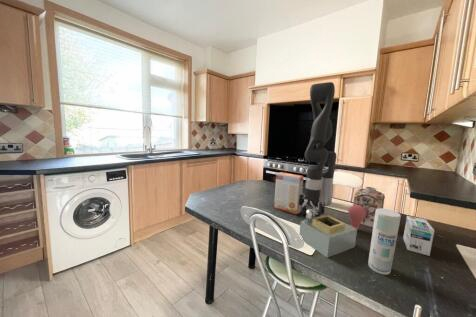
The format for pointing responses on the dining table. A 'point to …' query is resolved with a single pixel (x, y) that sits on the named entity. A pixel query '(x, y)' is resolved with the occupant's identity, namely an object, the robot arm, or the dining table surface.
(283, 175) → the cracker box
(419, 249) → the light bulb box
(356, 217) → the light bulb
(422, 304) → the dining table surface
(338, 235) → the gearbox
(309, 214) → the pellet
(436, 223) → the dining table surface
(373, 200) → the decorative jar
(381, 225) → the spray can
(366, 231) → the dining table surface
